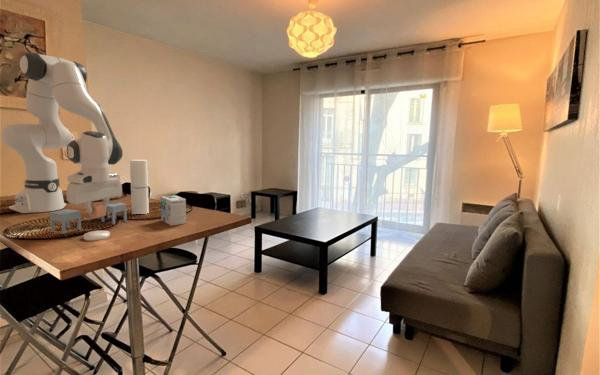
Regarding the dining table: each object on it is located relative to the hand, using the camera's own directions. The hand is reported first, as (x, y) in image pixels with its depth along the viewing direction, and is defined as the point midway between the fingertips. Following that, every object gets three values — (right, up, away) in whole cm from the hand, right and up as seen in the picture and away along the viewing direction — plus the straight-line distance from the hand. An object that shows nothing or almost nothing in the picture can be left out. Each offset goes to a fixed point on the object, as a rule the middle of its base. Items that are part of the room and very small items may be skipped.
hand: (97, 211), depth 120 cm
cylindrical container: (+3, -3, +27) cm, 28 cm away
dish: (+5, -9, -8) cm, 13 cm away
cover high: (0, -5, +12) cm, 13 cm away
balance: (-6, -4, +16) cm, 17 cm away
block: (0, -2, 0) cm, 2 cm away
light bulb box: (+23, -6, +16) cm, 28 cm away
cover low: (-9, -7, -3) cm, 12 cm away
